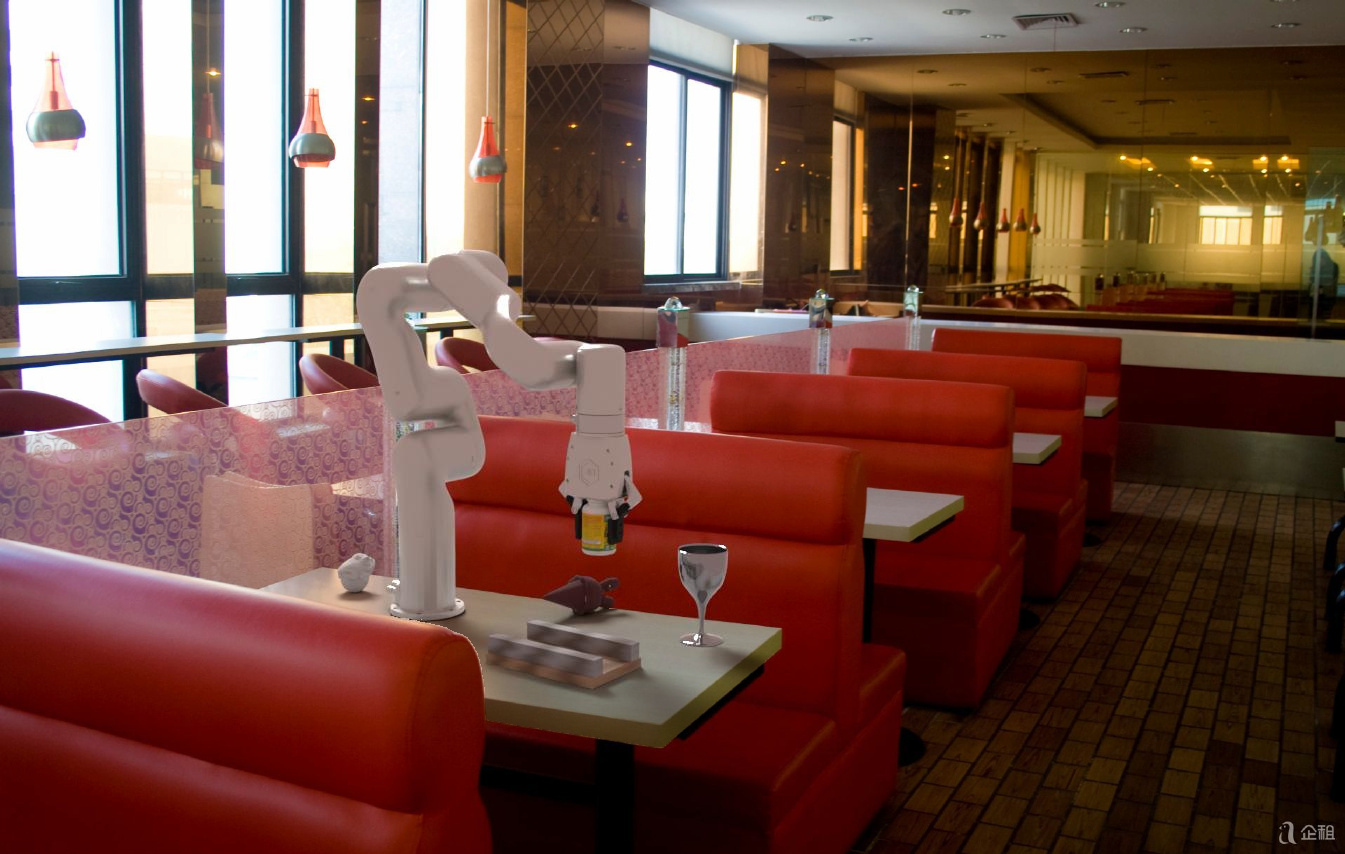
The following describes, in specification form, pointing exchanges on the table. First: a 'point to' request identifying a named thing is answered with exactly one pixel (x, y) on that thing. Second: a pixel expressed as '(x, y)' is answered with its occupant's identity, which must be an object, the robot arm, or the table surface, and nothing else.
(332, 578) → the table surface
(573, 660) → the sliding track
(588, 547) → the supplement bottle
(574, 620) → the table surface
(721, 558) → the wine glass
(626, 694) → the table surface
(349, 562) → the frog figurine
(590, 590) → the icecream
